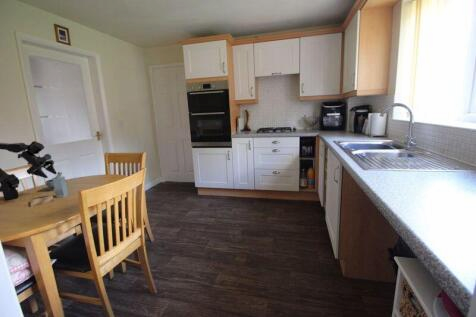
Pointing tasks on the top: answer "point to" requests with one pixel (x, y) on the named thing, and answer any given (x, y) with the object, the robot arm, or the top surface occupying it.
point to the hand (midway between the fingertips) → (51, 175)
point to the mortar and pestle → (50, 182)
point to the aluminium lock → (60, 186)
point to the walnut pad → (41, 201)
